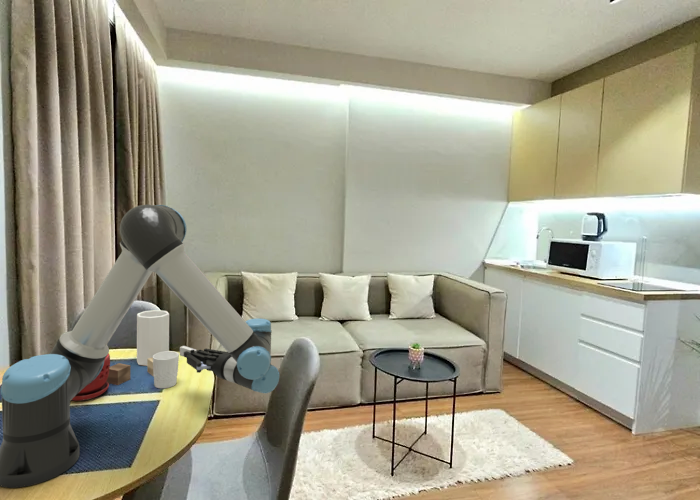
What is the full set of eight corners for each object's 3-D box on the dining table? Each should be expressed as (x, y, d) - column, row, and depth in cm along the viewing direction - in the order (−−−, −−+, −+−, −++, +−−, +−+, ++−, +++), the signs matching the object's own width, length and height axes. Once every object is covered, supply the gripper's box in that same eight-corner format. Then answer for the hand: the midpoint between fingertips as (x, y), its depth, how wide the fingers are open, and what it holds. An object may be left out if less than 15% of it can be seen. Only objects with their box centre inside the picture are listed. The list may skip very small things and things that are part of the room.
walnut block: (117, 385, 128) (117, 370, 128) (105, 382, 129) (105, 368, 129) (130, 379, 133) (130, 365, 132) (118, 377, 134) (118, 363, 134)
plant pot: (87, 382, 129) (87, 347, 128) (119, 389, 125) (120, 352, 124) (47, 400, 116) (47, 361, 115) (82, 407, 113) (82, 367, 112)
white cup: (146, 386, 128) (147, 357, 127) (165, 377, 136) (165, 349, 135) (165, 391, 126) (166, 361, 125) (183, 381, 133) (184, 353, 132)
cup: (147, 368, 142) (147, 319, 140) (130, 361, 148) (130, 313, 146) (175, 360, 152) (175, 313, 150) (157, 353, 157) (158, 308, 156)
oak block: (153, 376, 136) (153, 362, 136) (147, 372, 140) (147, 358, 139) (167, 372, 140) (167, 359, 139) (161, 368, 143) (161, 355, 143)
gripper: (214, 388, 108) (163, 368, 120) (249, 372, 119) (199, 355, 132) (214, 361, 107) (162, 344, 120) (249, 348, 118) (199, 334, 131)
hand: (181, 350), depth 126 cm, fingers closed
